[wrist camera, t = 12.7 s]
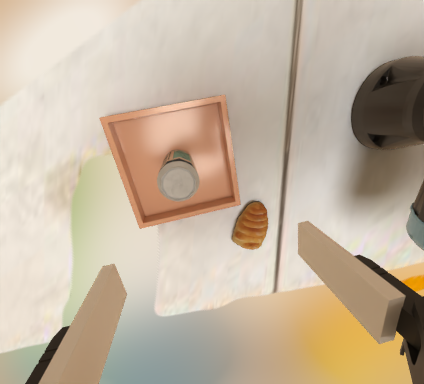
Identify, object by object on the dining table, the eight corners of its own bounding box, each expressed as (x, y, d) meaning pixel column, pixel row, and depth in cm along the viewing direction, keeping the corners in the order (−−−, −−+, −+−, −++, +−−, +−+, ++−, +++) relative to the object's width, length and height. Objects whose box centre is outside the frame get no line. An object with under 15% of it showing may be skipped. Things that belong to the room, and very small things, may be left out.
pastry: (239, 198, 38) (246, 205, 34) (271, 202, 39) (280, 209, 36) (229, 239, 41) (234, 251, 37) (259, 242, 42) (266, 252, 39)
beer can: (168, 180, 33) (163, 209, 22) (160, 153, 31) (149, 169, 20) (196, 173, 34) (204, 198, 22) (188, 145, 32) (194, 158, 21)
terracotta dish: (220, 97, 31) (225, 94, 28) (235, 197, 37) (240, 204, 34) (108, 118, 30) (99, 117, 26) (143, 219, 36) (139, 228, 33)
